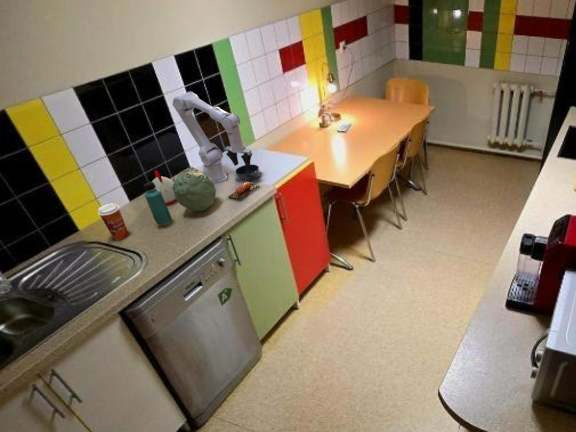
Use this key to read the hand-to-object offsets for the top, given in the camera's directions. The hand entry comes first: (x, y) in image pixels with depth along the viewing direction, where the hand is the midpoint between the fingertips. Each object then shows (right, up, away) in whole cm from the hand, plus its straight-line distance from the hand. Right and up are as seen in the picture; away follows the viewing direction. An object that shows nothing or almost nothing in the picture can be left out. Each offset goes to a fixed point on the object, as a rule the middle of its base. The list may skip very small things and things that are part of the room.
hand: (242, 166), depth 206 cm
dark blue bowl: (0, -4, +11) cm, 12 cm away
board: (+2, -13, -4) cm, 14 cm away
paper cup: (-41, -33, -30) cm, 60 cm away
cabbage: (-14, -21, -14) cm, 29 cm away
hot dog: (+2, -12, -4) cm, 13 cm away
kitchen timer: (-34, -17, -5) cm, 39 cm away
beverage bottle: (-25, -28, -24) cm, 45 cm away
